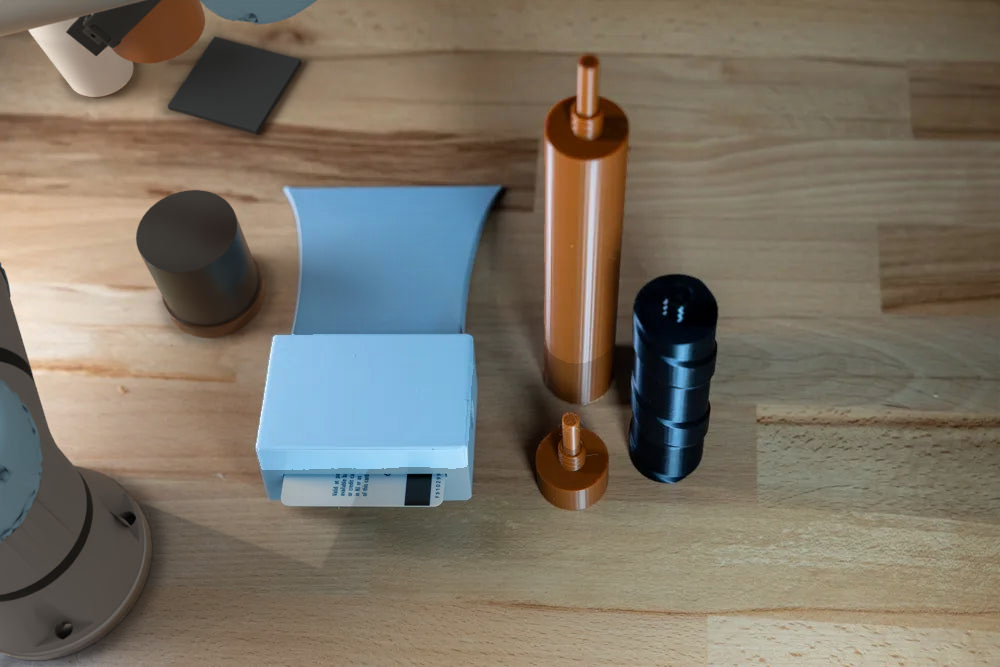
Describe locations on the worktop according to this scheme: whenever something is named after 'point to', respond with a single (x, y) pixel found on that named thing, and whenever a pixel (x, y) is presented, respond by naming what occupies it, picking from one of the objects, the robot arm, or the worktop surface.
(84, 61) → the cup
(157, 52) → the copper cylinder
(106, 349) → the worktop surface
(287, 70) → the mat
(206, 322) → the dark grey cylinder
